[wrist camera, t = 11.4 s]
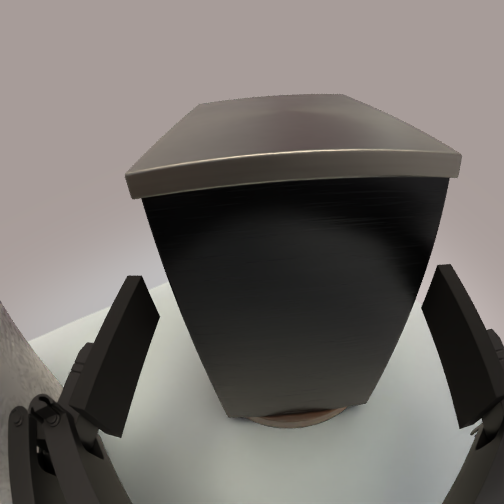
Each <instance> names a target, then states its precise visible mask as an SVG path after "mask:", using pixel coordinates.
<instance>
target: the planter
mask: <svg viewBox="0 0 504 504" xmlns="http://www.w3.org/2000/svg"><path fill="white" fill-rule="evenodd" d="M62 390H63V387H62V386H61V385H60V383H59V382H58V381H57V379H56V378H55V377H54V375H53V374H52V373H51V372H50V370H49V369H48V368H47V367H46V366H45V364H44V363H43V362H42V361H41V359H40V358H39V357H38V356H37V354H36V353H35V352H34V350H33V349H32V348H31V346H30V345H29V344H28V342H27V341H26V340H25V338H24V337H23V335H22V334H21V332H20V331H19V329H18V328H17V327H16V325H15V324H14V322H13V320H12V319H11V318H10V316H9V314H8V313H7V311H6V309H5V308H4V306H3V305H2V303H1V301H0V504H12V497H11V488H10V478H9V463H8V419H9V415H10V413H11V411H12V410H13V409H14V408H15V407H16V406H23V407H25V408H26V409H27V410H28V408H29V404H30V402H31V401H32V399H33V398H34V397H35V396H37V395H38V394H42V393H43V394H47V395H48V396H50V397H51V398H52V399H53V400H54V401H56V402H58V400H59V397H60V395H61V392H62ZM38 452H39V447H37V453H38Z"/></svg>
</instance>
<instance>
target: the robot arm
mask: <svg viewBox="0 0 504 504" xmlns="http://www.w3.org/2000/svg"><path fill="white" fill-rule="evenodd" d="M421 309H422V311H423V314H424V316H425V319H426V321H427V324H428V327H429V329H430V332H431V335H432V337H433V340H434V343H435V346H436V348H437V351H438V354H439V357H440V360H441V363H442V366H443V369H444V373H445V376H446V379H447V383H448V386H449V389H450V393H451V397H452V400H453V404H454V408H455V412H456V416H457V420H458V424H459V429H461V428H464V427H467V426H470V425H473V424H475V423H476V422H477V421H478V420H480V419H481V418H482V422H483V423H482V424H480V425H479V426H478V427H476V428H475V429H474V430H472V432H471V434H470V435H473V434H474V433H476V432H477V431H478V432H477V434H476V435H475V436H474V437H475V439H474V442H473V444H472V446H471V449H470V451H469V453H468V456H467V458H466V460H465V462H464V464H463V466H462V468H461V470H460V472H459V474H458V476H457V478H456V480H455V482H454V484H453V485H452V487H451V489H450V491H449V493H448V494H447V496H446V498H445V499H444V501H443V503H442V504H504V346H503V344H502V342H501V339H500V337H499V336H498V335H497V334H496V333H495V332H494V331H493V330H492V329H489V330H486V328H485V326H484V324H483V322H482V320H481V318H480V316H479V314H478V312H477V310H476V308H475V306H474V304H473V302H472V301H471V299H470V297H469V295H468V293H467V291H466V290H465V288H464V286H463V284H462V283H461V281H460V279H459V277H458V276H457V274H456V272H455V271H454V269H453V267H452V266H451V264H446V265H437V268H436V271H435V273H434V276H433V279H432V282H431V284H430V287H429V290H428V292H427V295H426V297H425V300H424V302H423V304H422V307H421ZM159 318H160V316H159V313H158V311H157V309H156V307H155V305H154V303H153V300H152V298H151V296H150V294H149V291H148V289H147V287H146V284H145V282H144V280H143V277H142V276H127V278H126V280H125V281H124V283H123V285H122V287H121V289H120V291H119V293H118V295H117V297H116V299H115V300H114V302H113V304H112V306H111V308H110V310H109V312H108V314H107V316H106V318H105V320H104V322H103V325H102V327H101V329H100V331H99V333H98V335H97V337H96V339H95V341H94V343H89V342H87V343H86V344H85V346H84V347H83V348H82V349H81V350H80V351H79V353H78V355H77V358H76V360H75V364H73V367H72V369H71V372H70V373H69V376H68V378H67V380H66V383H65V385H64V388H63V390H62V392H61V395H60V397H59V400H58V402H56V401H54V400H53V399H52V398H51V397H50V396H48V395H47V394H43V393H42V394H38V395H37V396H35V397H34V398H33V399H32V401H31V402H30V404H29V408H28V410H27V409H26V408H25V407H23V406H16V407H15V408H14V409H13V410H12V411H11V413H10V415H9V419H8V463H9V478H10V488H11V497H12V504H132V502H131V501H130V499H129V497H128V495H127V493H126V491H125V490H124V488H123V486H122V484H121V482H120V480H119V478H118V476H117V474H116V472H115V470H114V468H113V465H112V463H111V461H110V459H109V457H108V455H107V452H106V450H105V448H104V445H103V443H102V440H101V438H100V436H99V435H98V430H99V429H100V430H102V431H103V432H104V433H106V434H109V435H113V436H116V437H120V438H121V437H122V434H123V430H124V426H125V423H126V419H127V416H128V412H129V409H130V406H131V402H132V399H133V396H134V392H135V389H136V386H137V383H138V380H139V376H140V373H141V370H142V367H143V364H144V361H145V358H146V355H147V352H148V349H149V346H150V343H151V340H152V337H153V335H154V332H155V329H156V326H157V323H158V320H159ZM37 447H39V452H38V453H37Z"/></svg>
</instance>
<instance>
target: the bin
mask: <svg viewBox="0 0 504 504" xmlns="http://www.w3.org/2000/svg"><path fill="white" fill-rule="evenodd" d="M461 158H462V155H461V154H460V153H459V152H457V151H455V150H454V149H452V148H451V147H449V146H447V145H446V144H444V143H442V142H441V141H439V140H437V139H435V138H434V137H432V136H430V135H428V134H427V133H425V132H423V131H421V130H419V129H417V128H415V127H414V126H412V125H410V124H408V123H406V122H404V121H402V120H400V119H398V118H396V117H394V116H392V115H389V114H387V113H385V112H383V111H381V110H379V109H376V108H374V107H372V106H370V105H367V104H365V103H362V102H360V101H358V100H355V99H353V98H350V97H348V96H345V95H341V94H304V95H279V96H266V97H253V98H243V99H234V100H225V101H218V102H211V103H204V104H199V105H198V106H196V107H195V108H194V109H193V110H192V111H190V113H188V114H187V115H186V116H185V117H184V118H182V119H181V120H180V121H179V122H178V123H177V124H176V125H174V126H173V127H172V128H171V129H170V130H169V131H168V132H167V133H166V134H165V135H164V136H162V137H161V138H160V139H159V140H158V141H157V142H156V143H155V144H154V145H153V146H152V147H151V148H150V149H149V150H148V151H147V152H146V153H145V154H144V155H143V156H142V157H141V158H140V159H139V160H138V161H137V162H136V163H135V164H134V165H133V166H132V167H131V168H130V169H129V170H128V171H127V172H126V173H125V178H126V182H127V185H128V188H129V192H130V195H131V198H132V199H139V198H141V199H142V202H143V206H144V209H145V212H146V215H147V219H148V222H149V225H150V228H151V231H152V234H153V237H154V240H155V243H156V246H157V249H158V252H159V255H160V258H161V261H162V264H163V266H164V269H165V272H166V275H167V278H168V280H169V283H170V286H171V288H172V291H173V294H174V296H175V299H176V301H177V304H178V307H179V309H180V312H181V314H182V317H183V319H184V322H185V324H186V326H187V329H188V331H189V334H190V336H191V338H192V341H193V343H194V346H195V348H196V350H197V352H198V355H199V357H200V359H201V362H202V364H203V366H204V368H205V370H206V373H207V375H208V377H209V379H210V381H211V383H212V385H213V388H214V390H215V392H216V394H217V396H218V398H219V400H220V402H221V404H222V406H223V408H224V410H225V412H226V414H227V416H228V417H229V418H237V417H263V416H278V415H290V414H300V413H309V412H317V411H324V410H331V409H338V408H344V407H350V406H355V405H361V404H366V403H367V401H368V399H369V397H370V395H371V394H372V392H373V390H374V388H375V386H376V385H377V383H378V381H379V379H380V377H381V375H382V373H383V371H384V369H385V367H386V365H387V363H388V361H389V359H390V357H391V355H392V353H393V351H394V349H395V347H396V344H397V342H398V340H399V338H400V336H401V333H402V331H403V329H404V326H405V324H406V322H407V319H408V317H409V314H410V312H411V309H412V307H413V304H414V302H415V299H416V296H417V294H418V291H419V288H420V285H421V282H422V280H423V277H424V274H425V271H426V268H427V265H428V262H429V259H430V255H431V252H432V249H433V245H434V242H435V238H436V235H437V231H438V227H439V224H440V219H441V215H442V211H443V207H444V202H445V198H446V193H447V189H448V184H449V178H457V177H458V175H459V170H460V164H461Z"/></svg>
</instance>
